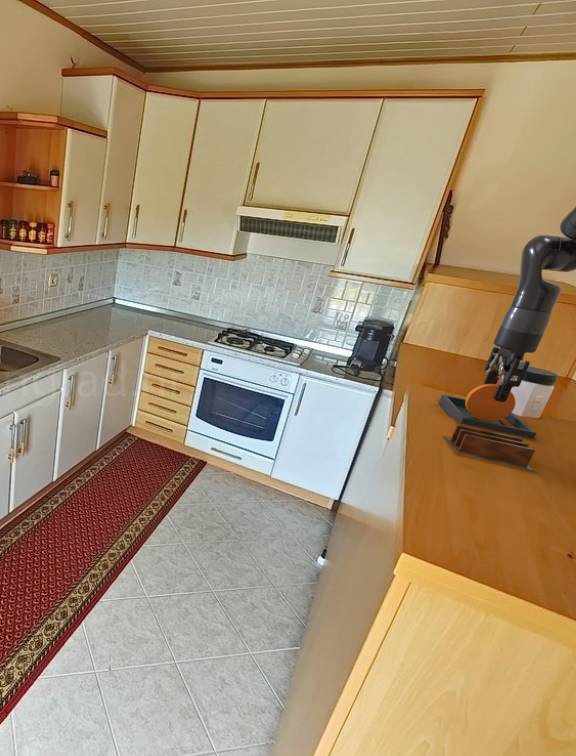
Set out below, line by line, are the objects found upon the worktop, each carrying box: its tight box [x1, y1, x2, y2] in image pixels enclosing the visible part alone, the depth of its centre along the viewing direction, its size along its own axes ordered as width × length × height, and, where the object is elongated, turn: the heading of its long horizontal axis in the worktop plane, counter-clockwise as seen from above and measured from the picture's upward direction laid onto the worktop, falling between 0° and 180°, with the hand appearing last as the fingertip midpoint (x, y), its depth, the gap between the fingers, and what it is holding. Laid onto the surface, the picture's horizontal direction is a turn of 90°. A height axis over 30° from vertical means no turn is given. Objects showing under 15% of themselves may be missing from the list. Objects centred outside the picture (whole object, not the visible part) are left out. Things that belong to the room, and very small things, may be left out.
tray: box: [438, 394, 538, 440], centre depth 117 cm, size 14×18×3 cm
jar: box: [510, 365, 559, 419], centre depth 124 cm, size 9×8×12 cm
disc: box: [465, 383, 516, 421], centre depth 116 cm, size 9×2×9 cm, turn 66°
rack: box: [445, 424, 536, 471], centre depth 98 cm, size 12×9×5 cm
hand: (492, 395), depth 115 cm, fingers open, 7 cm apart
